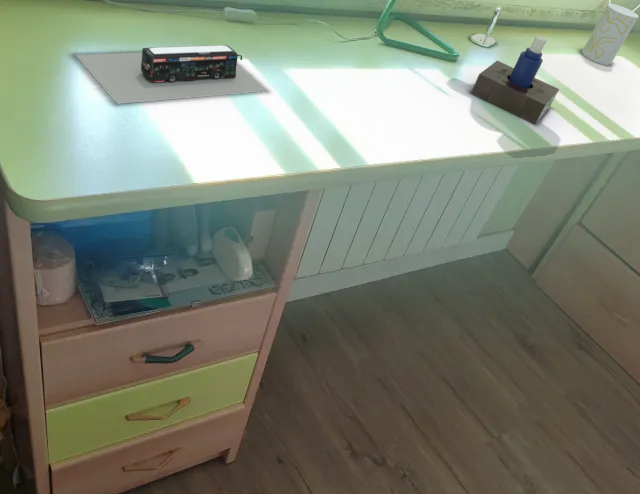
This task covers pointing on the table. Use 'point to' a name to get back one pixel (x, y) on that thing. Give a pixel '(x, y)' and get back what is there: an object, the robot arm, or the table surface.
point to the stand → (487, 32)
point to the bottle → (528, 64)
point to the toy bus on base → (170, 73)
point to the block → (514, 93)
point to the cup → (609, 34)
